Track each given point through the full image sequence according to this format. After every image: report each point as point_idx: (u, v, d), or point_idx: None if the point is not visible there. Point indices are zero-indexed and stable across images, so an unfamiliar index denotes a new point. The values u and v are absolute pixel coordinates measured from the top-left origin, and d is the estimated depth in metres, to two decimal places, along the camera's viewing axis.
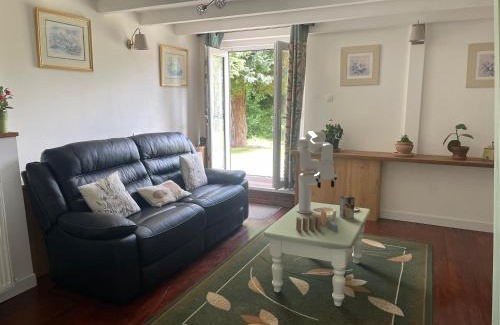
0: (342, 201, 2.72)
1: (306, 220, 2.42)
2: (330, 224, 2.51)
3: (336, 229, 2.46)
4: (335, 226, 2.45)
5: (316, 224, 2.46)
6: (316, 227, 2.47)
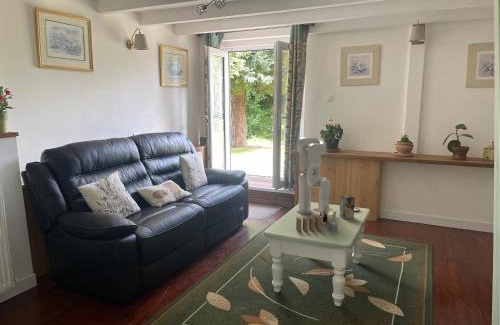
0: (342, 201, 2.72)
1: (306, 220, 2.42)
2: (330, 224, 2.51)
3: (336, 229, 2.46)
4: (335, 226, 2.45)
5: (316, 224, 2.46)
6: (316, 227, 2.47)
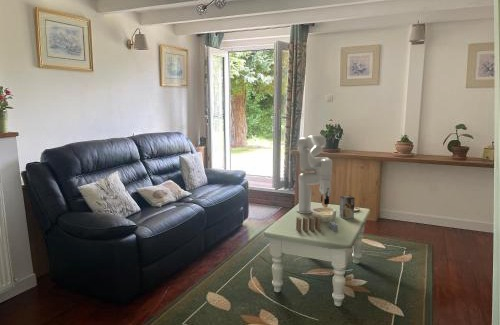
0: (342, 201, 2.72)
1: (306, 220, 2.42)
2: (330, 224, 2.51)
3: (336, 229, 2.46)
4: (335, 226, 2.45)
5: (316, 224, 2.46)
6: (316, 227, 2.47)
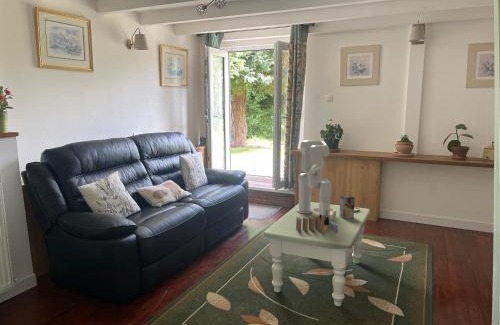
0: (342, 201, 2.72)
1: (306, 220, 2.42)
2: (330, 224, 2.51)
3: (336, 229, 2.46)
4: (335, 226, 2.45)
5: (316, 224, 2.46)
6: (316, 227, 2.47)
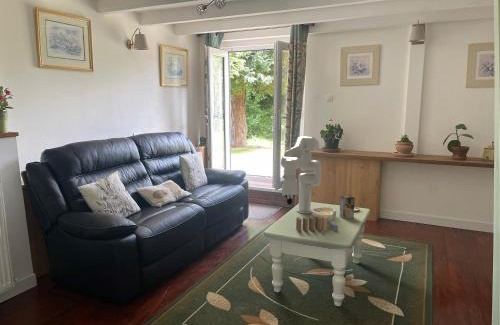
0: (342, 201, 2.72)
1: (306, 220, 2.42)
2: (330, 224, 2.51)
3: (336, 229, 2.46)
4: (335, 226, 2.45)
5: (316, 224, 2.46)
6: (316, 227, 2.47)
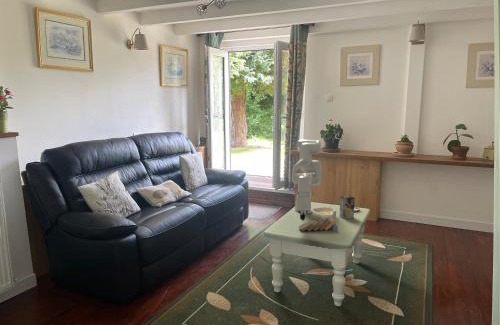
0: (342, 201, 2.72)
1: (317, 224, 2.44)
2: None
3: (336, 229, 2.46)
4: (335, 226, 2.45)
5: None
6: None
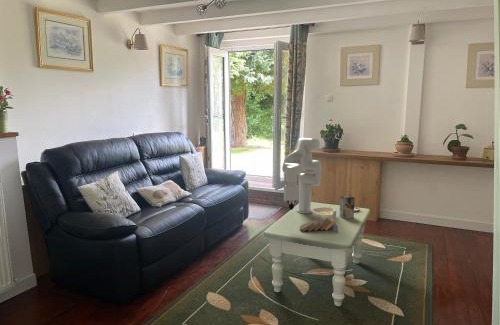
0: (342, 201, 2.72)
1: (318, 224, 2.44)
2: None
3: (336, 229, 2.46)
4: (335, 226, 2.45)
5: None
6: None
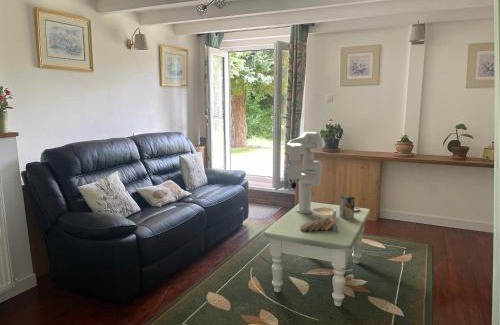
0: (342, 201, 2.72)
1: (319, 223, 2.44)
2: None
3: (336, 229, 2.46)
4: (335, 226, 2.45)
5: None
6: None
